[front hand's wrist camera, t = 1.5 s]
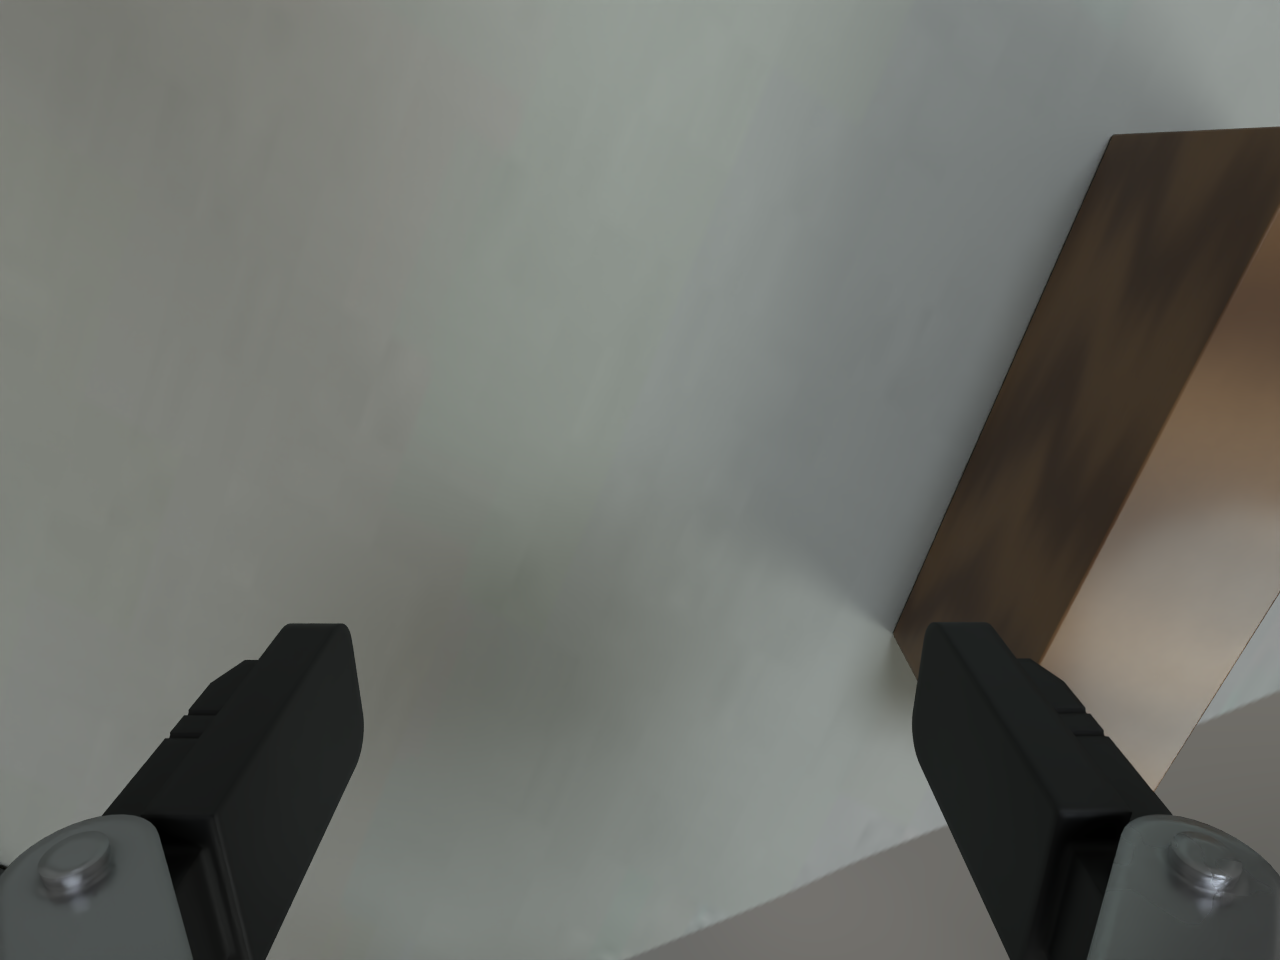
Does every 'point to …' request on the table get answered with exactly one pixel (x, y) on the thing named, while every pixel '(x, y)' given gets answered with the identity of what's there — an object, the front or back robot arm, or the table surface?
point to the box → (1134, 447)
